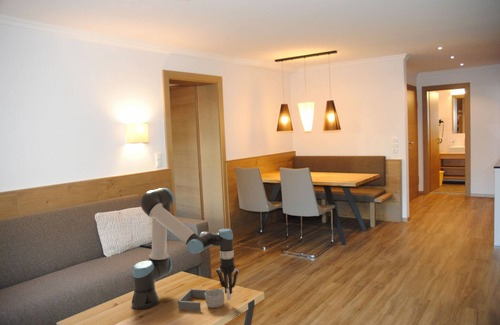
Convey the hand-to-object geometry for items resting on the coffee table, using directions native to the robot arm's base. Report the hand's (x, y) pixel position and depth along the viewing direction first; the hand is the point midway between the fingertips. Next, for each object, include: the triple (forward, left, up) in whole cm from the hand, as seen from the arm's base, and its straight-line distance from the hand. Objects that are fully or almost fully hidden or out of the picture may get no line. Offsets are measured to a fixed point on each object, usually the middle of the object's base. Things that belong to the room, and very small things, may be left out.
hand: (229, 299), depth 224 cm
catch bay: (-20, 0, -4) cm, 20 cm away
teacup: (-7, 0, -4) cm, 8 cm away
